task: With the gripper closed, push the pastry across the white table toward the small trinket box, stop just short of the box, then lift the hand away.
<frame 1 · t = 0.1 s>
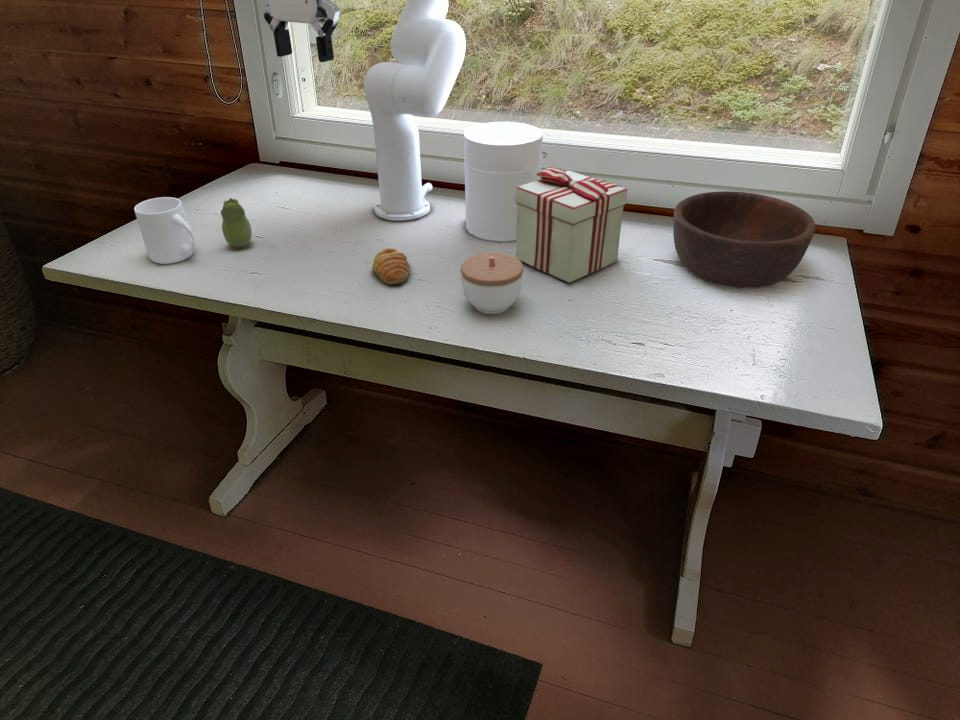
hand: (305, 58, 121), 37 cm above the table, tool pointing down, fingers open, 9 cm apart
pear: (240, 246, 144), on the table
mug: (178, 258, 140), on the table
wooden bowl: (732, 265, 135), on the table
canister: (502, 226, 151), on the table
pastry: (393, 274, 133), on the table
gift box: (568, 258, 138), on the table
trinket box: (492, 306, 123), on the table
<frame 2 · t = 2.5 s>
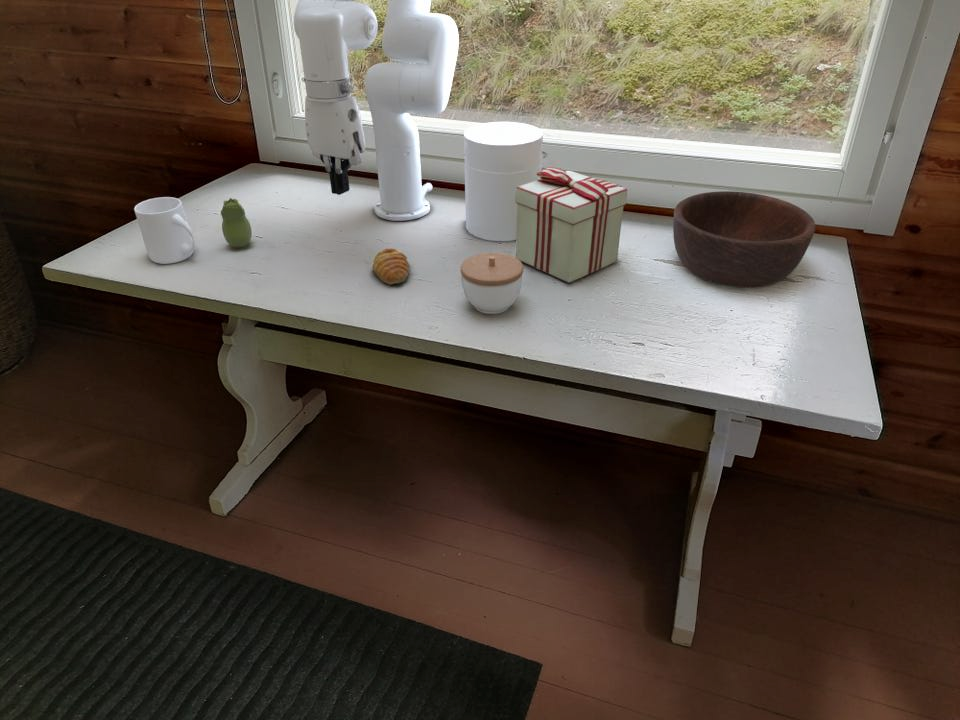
hand: (340, 191, 129), 14 cm above the table, tool pointing down, fingers closed
nothing on the table moved.
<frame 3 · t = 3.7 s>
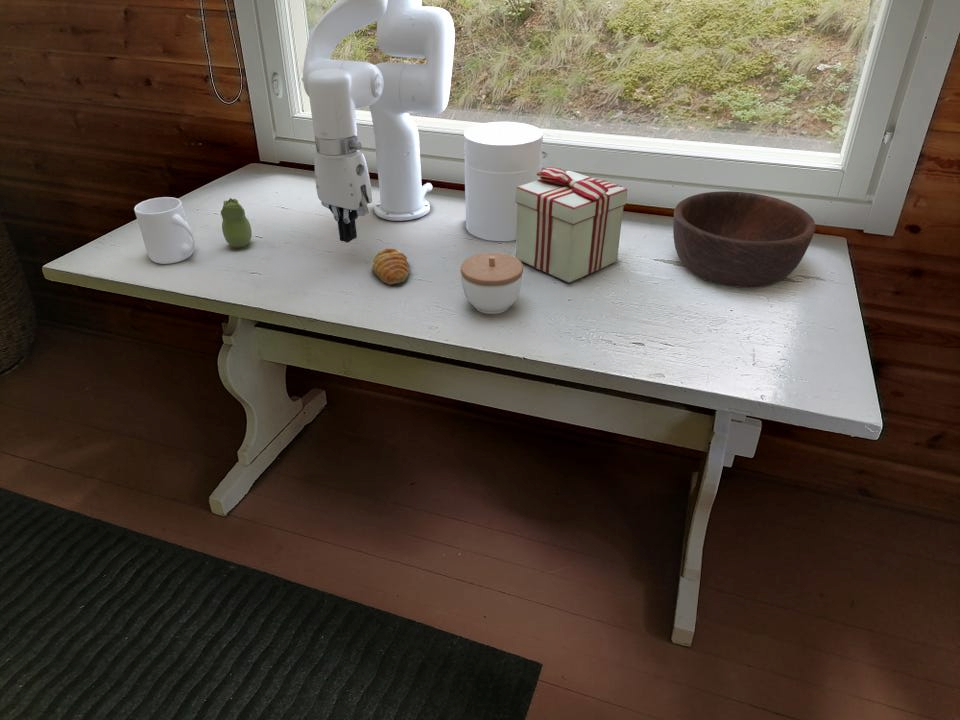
hand: (348, 239, 134), 5 cm above the table, tool pointing down, fingers closed
nothing on the table moved.
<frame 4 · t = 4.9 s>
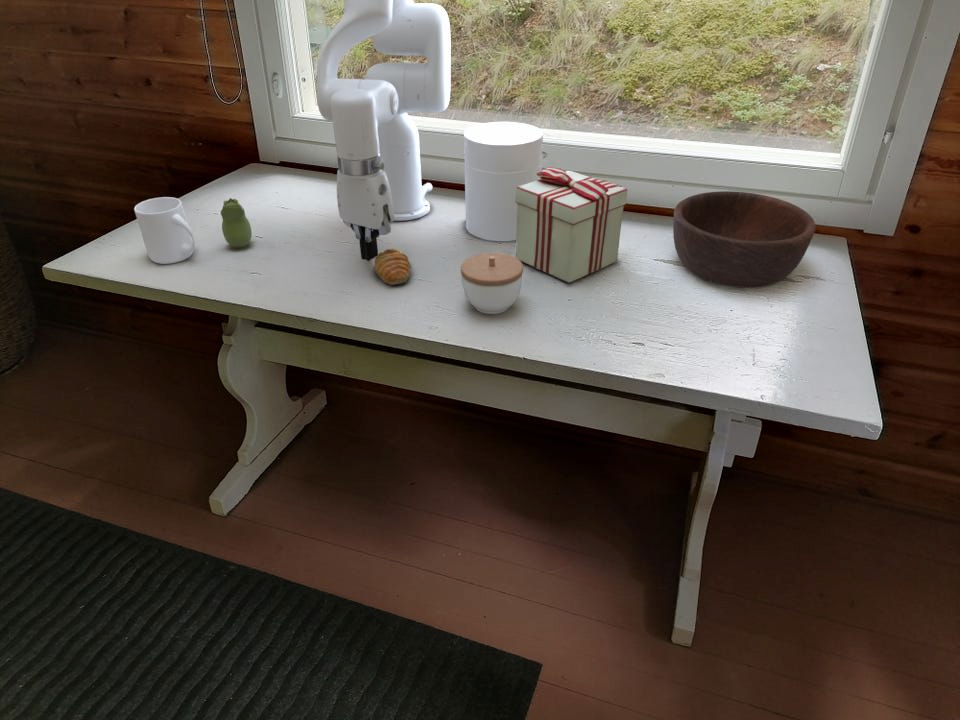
hand: (369, 257, 134), 2 cm above the table, tool pointing down, fingers closed
pastry: (394, 275, 133), on the table, touching gripper
everything else where it was.
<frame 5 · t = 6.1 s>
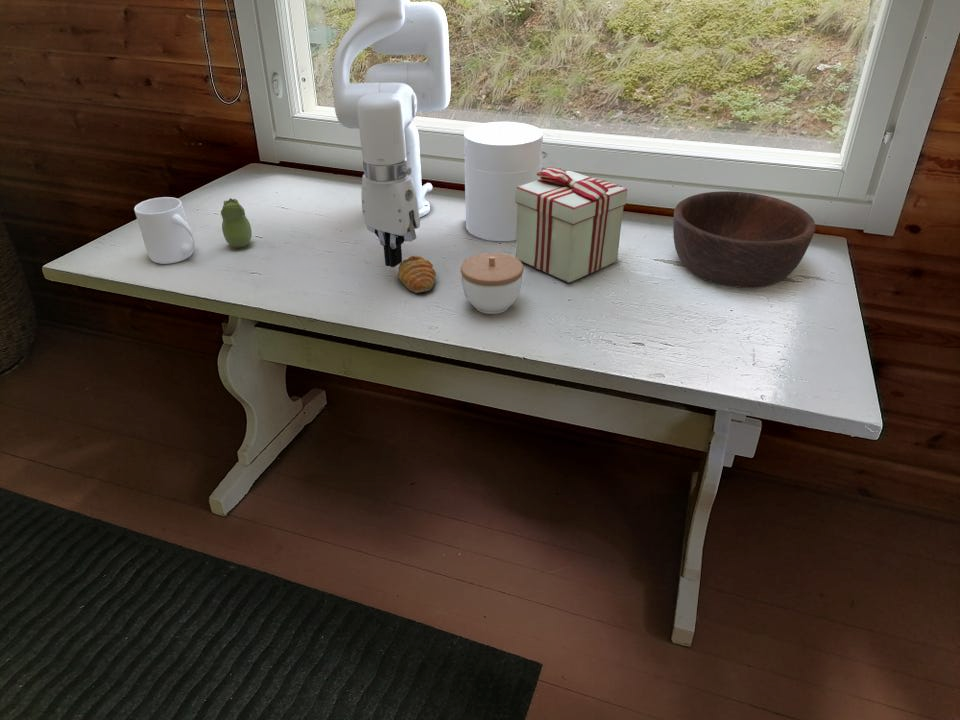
hand: (393, 263, 131), 2 cm above the table, tool pointing down, fingers closed
pastry: (419, 282, 130), on the table, touching gripper
everything else where it was.
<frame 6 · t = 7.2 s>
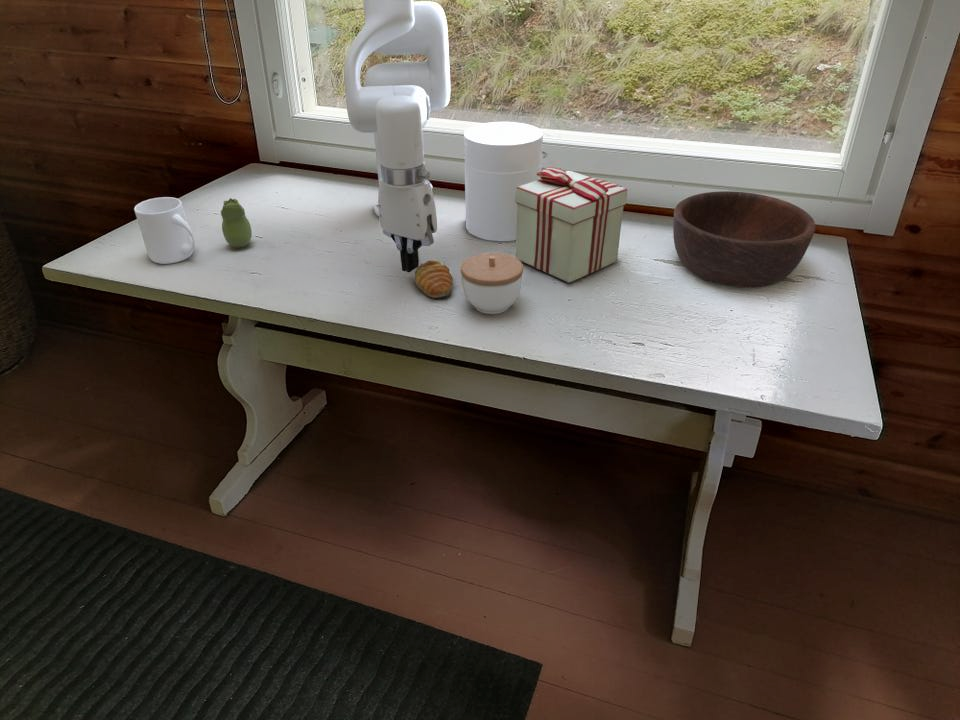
hand: (410, 268, 130), 2 cm above the table, tool pointing down, fingers closed
pastry: (435, 287, 129), on the table, touching gripper
everything else where it was.
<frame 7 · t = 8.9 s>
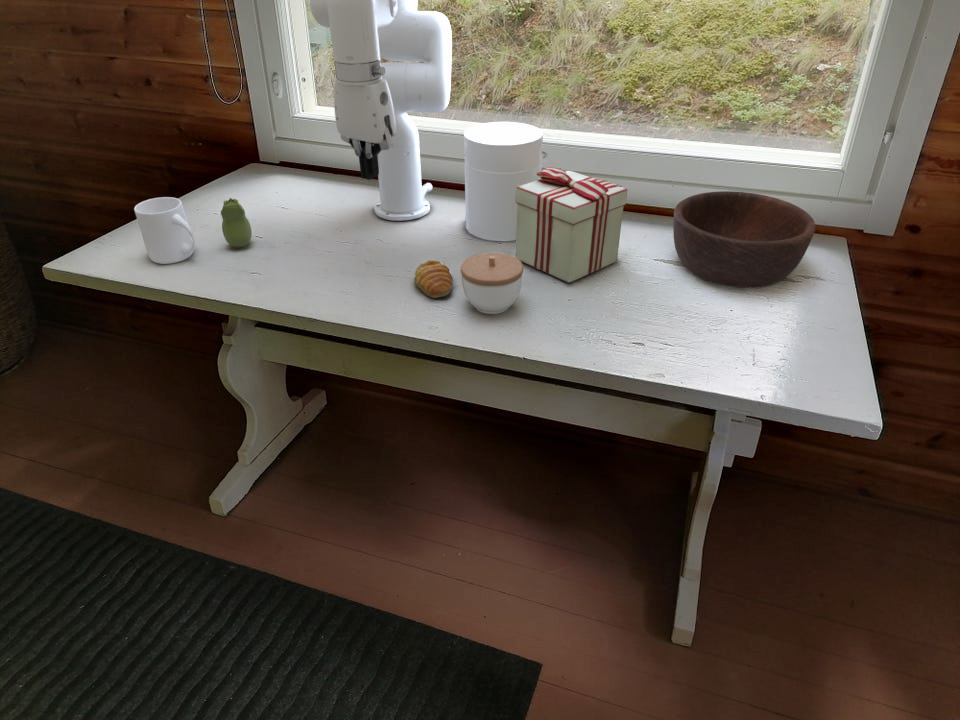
hand: (370, 176, 126), 18 cm above the table, tool pointing down, fingers closed
pastry: (435, 287, 129), on the table
everything else where it was.
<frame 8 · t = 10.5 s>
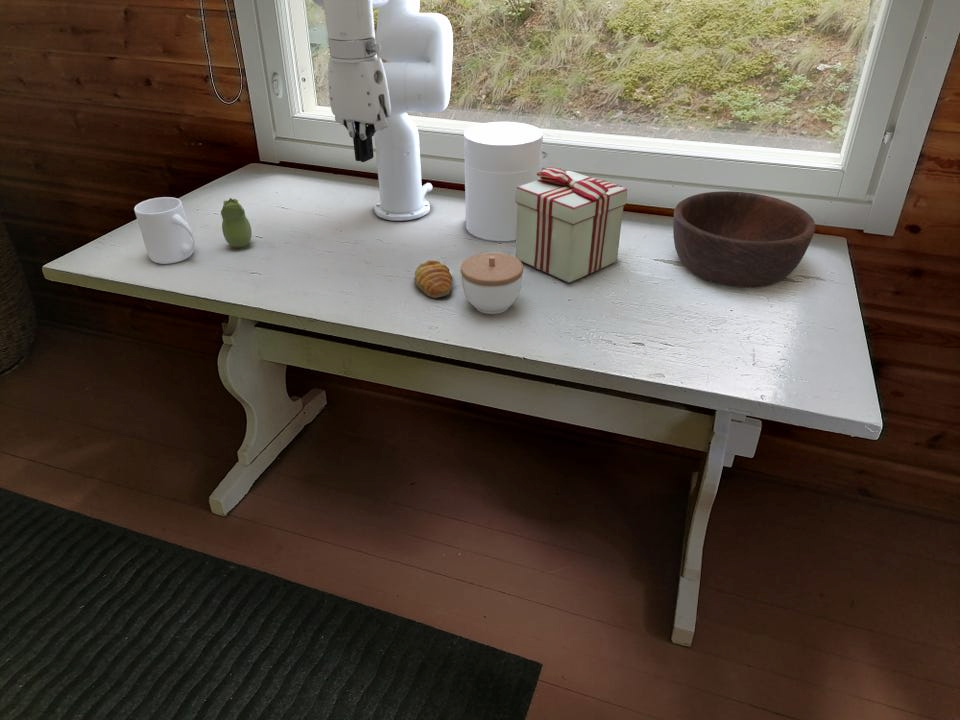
hand: (364, 159, 124), 21 cm above the table, tool pointing down, fingers closed
nothing on the table moved.
at the end: pastry 12.6 cm from the trinket box (horizontally); pastry moved 9.9 cm from its start; trinket box moved 0.2 cm from its start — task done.
